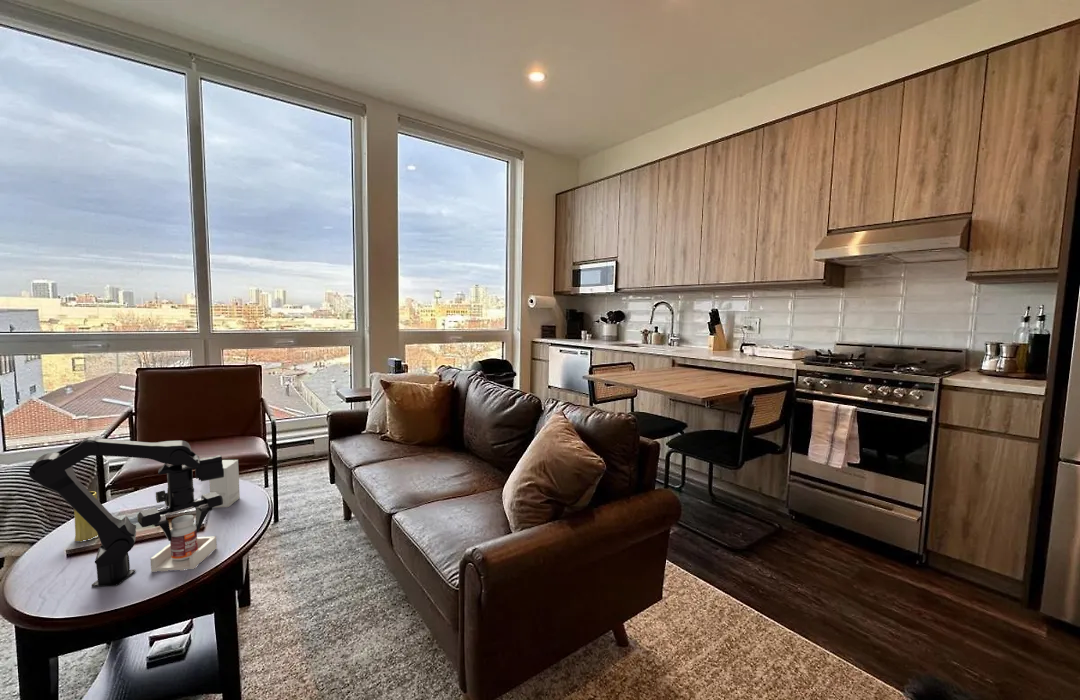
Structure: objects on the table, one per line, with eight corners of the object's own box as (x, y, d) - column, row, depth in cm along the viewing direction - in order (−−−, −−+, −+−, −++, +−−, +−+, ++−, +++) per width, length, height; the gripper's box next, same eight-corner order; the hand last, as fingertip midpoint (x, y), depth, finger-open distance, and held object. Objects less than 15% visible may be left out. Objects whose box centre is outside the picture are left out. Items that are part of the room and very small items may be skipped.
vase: (73, 544, 137) (69, 500, 135) (76, 536, 141) (72, 494, 140) (101, 538, 141) (97, 495, 139) (102, 530, 145) (99, 489, 144)
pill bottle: (189, 560, 127) (187, 523, 126) (166, 561, 127) (163, 524, 125) (202, 549, 134) (200, 513, 132) (180, 550, 133) (178, 514, 132)
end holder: (194, 569, 126) (193, 556, 125) (151, 572, 124) (150, 558, 124) (216, 548, 136) (216, 536, 136) (177, 550, 135) (177, 537, 135)
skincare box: (223, 498, 170) (221, 459, 169) (241, 497, 171) (239, 459, 169) (209, 508, 162) (207, 467, 160) (228, 507, 163) (226, 467, 161)
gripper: (209, 469, 140) (212, 515, 142) (131, 487, 125) (134, 539, 127) (222, 478, 133) (224, 527, 135) (140, 498, 119) (144, 553, 120)
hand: (183, 535), depth 129 cm, fingers closed on pill bottle, 6 cm apart
